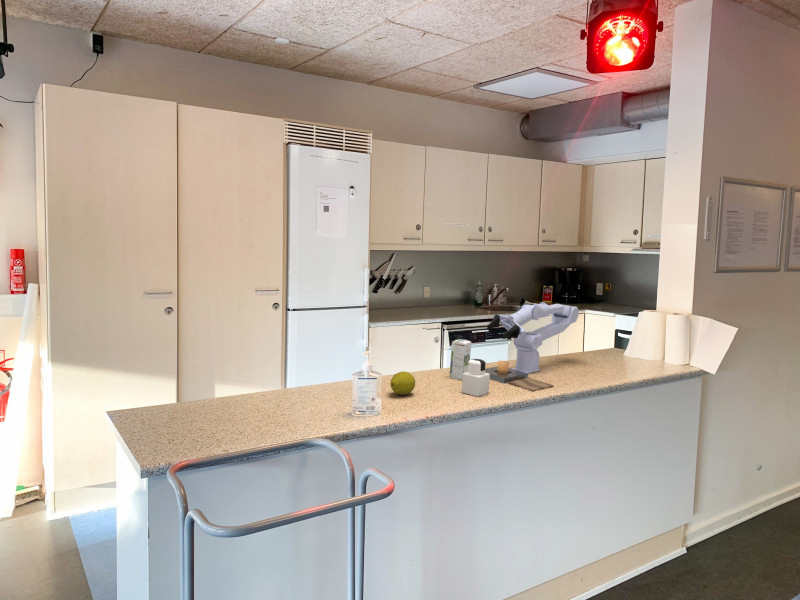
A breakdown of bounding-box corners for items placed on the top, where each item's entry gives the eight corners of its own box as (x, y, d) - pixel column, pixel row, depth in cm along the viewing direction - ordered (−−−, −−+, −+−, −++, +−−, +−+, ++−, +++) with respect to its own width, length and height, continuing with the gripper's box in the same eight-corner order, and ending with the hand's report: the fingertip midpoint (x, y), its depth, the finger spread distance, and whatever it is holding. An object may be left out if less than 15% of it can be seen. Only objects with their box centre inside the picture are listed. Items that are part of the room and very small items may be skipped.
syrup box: (455, 374, 240) (457, 338, 239) (469, 377, 237) (471, 340, 236) (449, 377, 236) (451, 341, 234) (463, 380, 233) (465, 343, 231)
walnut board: (528, 379, 238) (528, 377, 238) (553, 386, 229) (553, 385, 229) (507, 383, 231) (508, 382, 231) (533, 391, 222) (533, 389, 221)
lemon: (405, 389, 217) (406, 367, 216) (420, 394, 211) (421, 372, 210) (382, 394, 210) (383, 371, 209) (397, 400, 204) (398, 376, 203)
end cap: (501, 374, 244) (502, 360, 243) (510, 377, 240) (511, 362, 239) (494, 376, 241) (495, 361, 240) (502, 378, 237) (503, 363, 237)
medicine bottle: (472, 388, 221) (474, 356, 220) (489, 393, 217) (491, 360, 215) (461, 392, 216) (463, 359, 214) (478, 397, 212) (480, 363, 210)
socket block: (500, 370, 250) (501, 365, 250) (527, 378, 240) (528, 373, 239) (477, 375, 241) (477, 370, 241) (504, 383, 231) (504, 378, 231)
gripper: (504, 303, 247) (482, 315, 239) (533, 319, 238) (511, 332, 230) (502, 318, 251) (480, 329, 243) (530, 334, 242) (508, 347, 234)
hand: (495, 332), depth 237 cm, fingers open, 7 cm apart
